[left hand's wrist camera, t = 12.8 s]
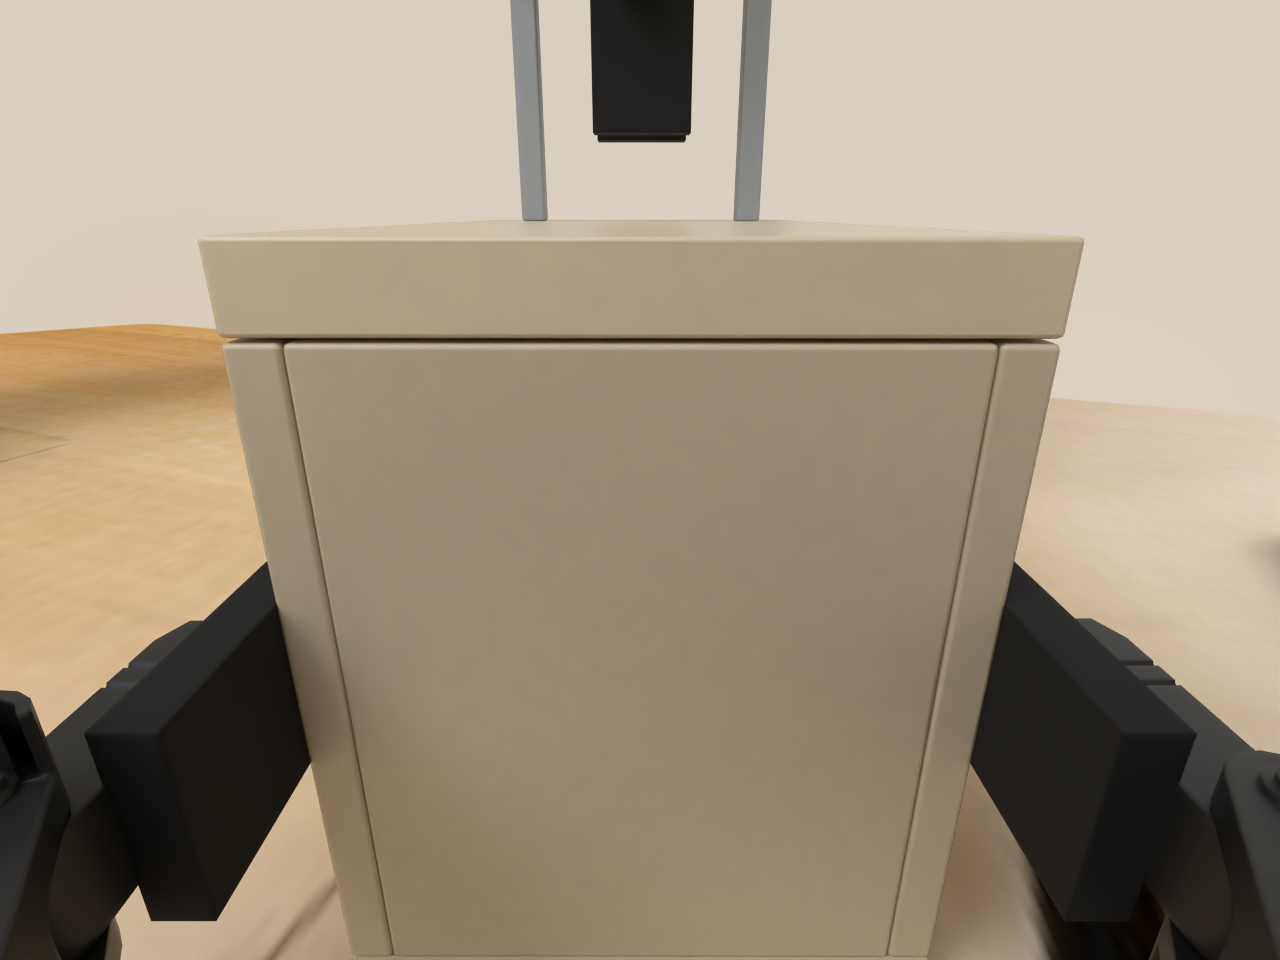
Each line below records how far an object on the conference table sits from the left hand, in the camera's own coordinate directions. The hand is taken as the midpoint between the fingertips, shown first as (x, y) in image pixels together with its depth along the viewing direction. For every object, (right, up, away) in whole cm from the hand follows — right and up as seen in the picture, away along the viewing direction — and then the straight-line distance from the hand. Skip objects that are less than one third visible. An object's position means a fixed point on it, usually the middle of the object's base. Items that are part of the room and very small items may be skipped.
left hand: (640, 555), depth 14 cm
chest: (0, -4, +6) cm, 8 cm away
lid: (0, +6, +3) cm, 7 cm away
